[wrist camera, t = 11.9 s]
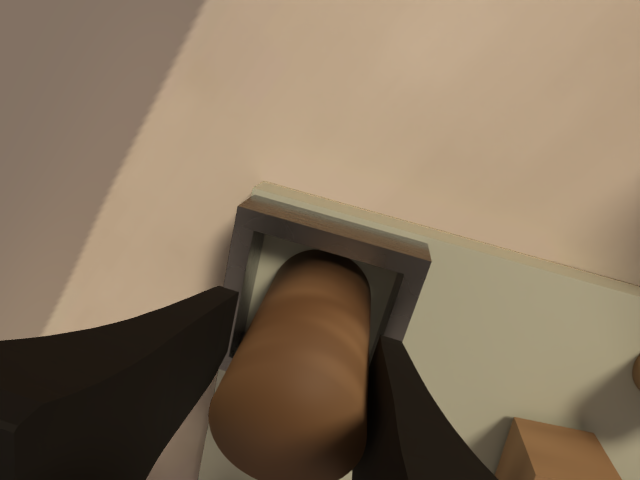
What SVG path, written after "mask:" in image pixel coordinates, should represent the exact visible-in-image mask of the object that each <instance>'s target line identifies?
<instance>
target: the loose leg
mask: <svg viewBox="0 0 640 480" xmlns="http://www.w3.org/2000/svg"><path fill="white" fill-rule="evenodd" d="M370 314H371V290H370V285H369V282H368V280H367V278H366V276H365V274H364V273H363V271H362V270H361V268H360V267H359V266H358V265H357V264H356V263H355V262H353V261H352V260H351V259H349V258H347V257H343V256H340V255H336V254H333V253H329V252H326V251H322V250H319V249H313V250H307V251H303V252H300V253H298V254H296V255H294V256H292V257H290V258H289V259H288V260H287V261H285V262H284V264H283V265H282V266H281V267H280V268H279V270H278V272H277V274H276V275H275V277H274V279H273V281H272V283H271V285H270V287H269V289H268V291H267V293H266V295H265V297H264V299H263V301H262V303H261V305H260V306H259V308H258V310H257V312H256V314H255V316H254V318H253V320H252V322H251V324H250V326H249V328H248V330H247V332H246V334H245V336H244V337H243V339H242V341H241V343H240V345H239V347H238V349H237V351H236V353H235V355H234V357H233V359H232V361H231V363H230V365H229V367H228V368H227V370H226V372H225V374H224V376H223V378H222V380H221V382H220V384H219V386H218V388H217V390H216V392H215V394H214V396H213V398H212V400H211V403H210V407H209V415H208V416H209V426H210V431H211V434H212V436H213V439H214V441H215V443H216V445H217V446H218V448H219V449H220V451H221V452H222V454H223V455H224V456H225V457H226V458H227V459H228V460H229V461H230V462H231V463H232V464H233V465H234V466H235V467H237V468H238V469H240V470H241V471H242V472H244V473H245V474H247V475H249V476H251V477H253V478H255V479H257V480H339V479H341V478H343V477H344V476H345V475H347V474H348V473H349V472H350V471H351V470H352V469H353V468H354V467H355V466H356V465H357V464H358V462H359V461H360V459H361V457H362V455H363V453H364V450H365V446H366V439H367V411H368V379H369V346H370Z"/></svg>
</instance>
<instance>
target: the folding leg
mask: <svg viewBox="0 0 640 480" xmlns="http://www.w3.org/2000/svg"><path fill="white" fill-rule="evenodd" d="M495 476H496V477H497V479H498V480H622V479H621V477H620V476H619V474H618V472H617V470H616V469H615V467H614V465H613V464H612V462H611V460H610V459H609V457H608V455H607V454H606V452H605V450H604V449H603V447H602V445H601V444H600V442H599V440H598V439H597V437H596V435H595V434H594V433H592V432H587V431H582V430H577V429H572V428H567V427H562V426H557V425H552V424H547V423H542V422H537V421H532V420H527V419H522V418H518V417H514V418H513V421H512V424H511V427H510V430H509V433H508V436H507V439H506V442H505V445H504V448H503V452H502V455H501V458H500V461H499V464H498V467H497V470H496V473H495Z"/></svg>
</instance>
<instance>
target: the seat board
mask: <svg viewBox="0 0 640 480" xmlns="http://www.w3.org/2000/svg"><path fill="white" fill-rule="evenodd" d="M253 195H258V196H262V197H265V198H269V199H272V200H276V201H279V202H283V203H286V204H290V205H294V206H297V207H301V208H304V209H308V210H311V211H315V212H318V213H322V214H325V215H329V216H332V217H336V218H339V219H343V220H347V221H350V222H354V223H357V224H361V225H364V226H368V227H371V228H375V229H378V230H382V231H385V232H389V233H392V234H396V235H400V236H403V237H407V238H410V239H414V240H417V241H421V242H424V243H428V247H429V252H430V256H431V260H432V262H431V265H430V268H429V271H428V273H427V276H426V279H425V282H424V284H423V287H422V290H421V292H420V295H419V298H418V301H417V303H416V306H415V309H414V312H413V314H412V317H411V320H410V323H409V325H408V328H407V331H406V334H405V336H404V339H403V342H402V343H403V345H404V346H405V348H406V350H407V352H408V354H409V356H410V358H411V360H412V362H413V364H414V366H415V368H416V369H417V371H418V373H419V375H420V377H421V379H422V380H423V382H424V384H425V386H426V387H427V389H428V391H429V392H430V394H431V395H432V397H433V399H434V400H435V402H436V403H437V405H438V406H439V408H440V409H441V411H442V412H443V414H444V415H445V417H446V418H447V420H448V421H449V422H450V424H451V425H452V426H453V428H454V429H455V430H456V432H457V433H458V434H459V435H460V437H461V438H462V439H463V440H464V442H465V443H466V444H467V445H468V446H469V448H470V449H471V450H472V451H473V452H474V454H475V455H476V456H477V457H478V458H479V459H480V460H481V462H482V463H483V464H484V465H485V466H486V467H487V468H488V469H489V470H490V471H491V472H492V473H493V474H494V475H495V473H496V470H497V467H498V464H499V461H500V458H501V455H502V452H503V448H504V445H505V442H506V439H507V436H508V433H509V430H510V427H511V424H512V421H513V418H514V417H518V418H522V419H527V420H532V421H537V422H542V423H547V424H552V425H557V426H562V427H567V428H572V429H577V430H582V431H587V432H592V433H594V434H595V435H596V437H597V439H598V440H599V442H600V444H601V445H602V447H603V449H604V450H605V452H606V454H607V455H608V457H609V459H610V460H611V462H612V464H613V465H614V467H615V469H616V470H617V472H618V474H619V476H620V477H621V479H622V480H640V287H639V286H636V285H632V284H629V283H625V282H622V281H618V280H614V279H611V278H607V277H604V276H600V275H597V274H593V273H589V272H586V271H582V270H579V269H575V268H572V267H568V266H565V265H561V264H557V263H554V262H550V261H547V260H543V259H540V258H536V257H532V256H529V255H525V254H522V253H518V252H515V251H511V250H507V249H504V248H500V247H497V246H493V245H490V244H486V243H482V242H479V241H475V240H472V239H468V238H465V237H461V236H457V235H454V234H450V233H447V232H443V231H440V230H436V229H432V228H429V227H425V226H422V225H418V224H415V223H411V222H407V221H404V220H400V219H397V218H393V217H390V216H386V215H382V214H379V213H375V212H372V211H368V210H365V209H361V208H357V207H354V206H350V205H347V204H343V203H340V202H336V201H332V200H329V199H325V198H322V197H318V196H315V195H311V194H307V193H304V192H300V191H297V190H293V189H290V188H286V187H282V186H279V185H275V184H272V183H268V182H265V181H263V182H261V183H260V184H258V185H257V186H255V187H254V188H253V190H252V195H251V197H252V196H253ZM313 249H316V248H312V247H309V246H305V245H302V244H298V243H295V242H291V241H288V240H285V239H281V238H278V237H274V236H271V235H267V234H265V236H264V241H263V246H262V250H261V255H260V260H259V265H258V270H257V274H256V279H255V284H254V289H253V294H252V299H251V303H250V308H249V313H248V318H247V323H246V327H245V332H247V330H248V328H249V326H250V324H251V322H252V320H253V318H254V316H255V314H256V312H257V310H258V308H259V306H260V305H261V303H262V301H263V299H264V297H265V295H266V293H267V291H268V289H269V287H270V285H271V283H272V281H273V279H274V277H275V275H276V274H277V272H278V270H279V268H280V267H281V266H282V265H283V264H284V262H285V261H287V260H288V259H289V258H290V257H292V256H294V255H296V254H298V253H300V252H303V251H307V250H313ZM349 259H350V258H349ZM351 260H352V261H353V262H355V263H356V264H357V265H358V266H359V267H360V268H361V270H362V271H363V273H364V274H365V276H366V278H367V280H368V282H369V285H370V290H371V314H370V346H369V356H370V353H371V350H372V347H373V344H374V341H375V338H376V335H377V332H378V329H379V326H380V323H381V320H382V317H383V314H384V311H385V308H386V305H387V302H388V300H389V297H390V294H391V291H392V288H393V285H394V282H395V279H396V276H397V273H398V272H395V271H391V270H388V269H385V268H381V267H378V266H374V265H371V264H367V263H364V262H360V261H357V260H353V259H351ZM225 372H226V371H223V370H220V369H219V370H218V375H217V381H216V386H215V391H214V394H215V392H216V390H217V388H218V386H219V384H220V382H221V380H222V378H223V376H224V374H225ZM198 480H257V479H255V478H253V477H251V476H249V475H247V474H245V473H244V472H242V471H241V470H240V469H238V468H237V467H235V466H234V465H233V464H232V463H231V462H230V461H229V460H228V459H227V458H226V457H225V456H224V455H223V454H222V452H221V451H220V449H219V448H218V446H217V445H216V443H215V441H214V439H213V436H212V434H211V431H210V426H209V423H208V428H207V433H206V439H205V444H204V449H203V455H202V460H201V465H200V470H199V476H198ZM339 480H352V470H351V471H350V472H349V473H348V474H347V475H345V476H344V477H343V478H341V479H339Z"/></svg>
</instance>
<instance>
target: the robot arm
mask: <svg viewBox="0 0 640 480" xmlns="http://www.w3.org/2000/svg"><path fill="white" fill-rule="evenodd" d="M238 295H239V292H237V291H234V290H231V289H228V288H224V287H221V286H217V287H214V288H212V289H209V290H207V291H204V292H202V293H199V294H197V295H194V296H192V297H189V298H187V299H184V300H182V301H179V302H177V303H174V304H172V305H169V306H167V307H164V308H161V309H158V310H155V311H152V312H149V313H146V314H143V315H140V316H137V317H134V318H131V319H128V320H124V321H120V322H117V323H113V324H108V325H104V326H100V327H96V328H91V329H86V330H80V331H74V332H68V333H62V334H57V335H51V336H43V337H35V338H26V339H15V340H5V341H0V480H146V478H147V476H148V475H149V473H150V471H151V469H152V468H153V466H154V464H155V462H156V461H157V459H158V458H159V456H160V454H161V453H162V451H163V450H164V448H165V447H166V445H167V444H168V442H169V441H170V440H171V438H172V437H173V435H174V434H175V433H176V431H177V430H178V428H179V427H180V426H181V424H182V423H183V421H184V420H185V419H186V417H187V416H188V414H189V413H190V412H191V410H192V409H193V407H194V406H195V405H196V403H197V402H198V400H199V399H200V397H201V396H202V395H203V393H204V392H205V390H206V389H207V387H208V386H209V385H210V383H211V382H212V380H213V378H214V376H215V375H216V373H217V371H218V369H219V367H220V365H221V363H222V361H223V359H224V358H225V356H226V354H227V352H228V347H229V342H230V337H231V331H232V326H233V321H234V316H235V311H236V306H237V301H238ZM352 480H498V479H497V477H496V476H495V475H494V474H493V473H492V472H491V471H490V470H489V469H488V468H487V467H486V466H485V465H484V464H483V463H482V462H481V460H480V459H479V458H478V457H477V456H476V455H475V454H474V452H473V451H472V450H471V449H470V448H469V446H468V445H467V444H466V443H465V442H464V440H463V439H462V438H461V437H460V435H459V434H458V433H457V432H456V430H455V429H454V428H453V426H452V425H451V424H450V422H449V421H448V420H447V418H446V417H445V415H444V414H443V412H442V411H441V409H440V408H439V406H438V405H437V403H436V402H435V400H434V399H433V397H432V395H431V394H430V392H429V391H428V389H427V387H426V386H425V384H424V382H423V380H422V379H421V377H420V375H419V373H418V371H417V369H416V368H415V366H414V364H413V362H412V360H411V358H410V356H409V354H408V352H407V350H406V348H405V346H404V345H403V343H402V341H399V340H396V339H393V338H389V337H386V336H383V335H380V336H379V339H378V342H377V345H376V348H375V351H374V354H373V357H372V360H371V363H370V366H369V379H368V411H367V439H366V446H365V450H364V453H363V455H362V457H361V459H360V461H359V462H358V464H357V465H356V466H355V467H354V468H353V469H352Z"/></svg>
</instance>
